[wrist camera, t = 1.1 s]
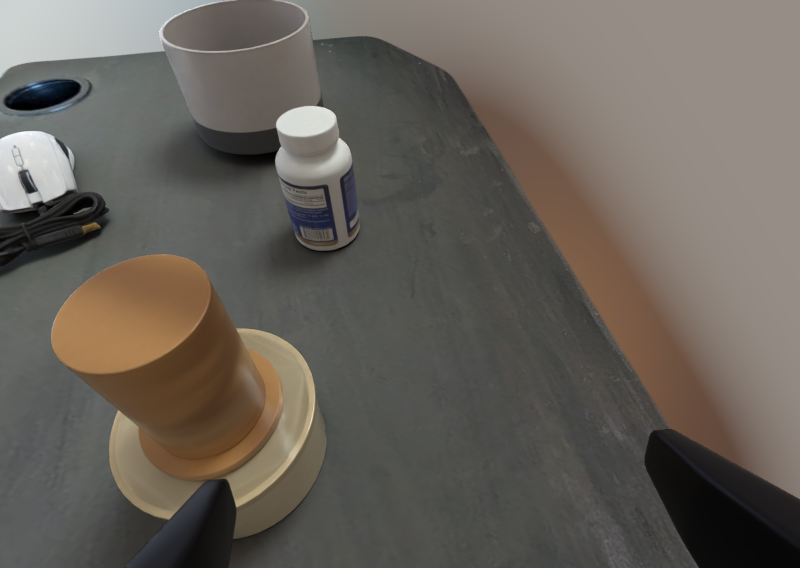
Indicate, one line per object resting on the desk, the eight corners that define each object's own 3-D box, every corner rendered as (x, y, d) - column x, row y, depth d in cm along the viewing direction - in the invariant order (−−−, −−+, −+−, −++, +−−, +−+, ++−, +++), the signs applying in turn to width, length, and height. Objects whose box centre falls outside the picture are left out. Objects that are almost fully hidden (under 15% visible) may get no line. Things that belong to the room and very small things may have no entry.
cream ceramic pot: (288, 569, 21) (260, 550, 17) (119, 514, 22) (60, 485, 19) (352, 392, 27) (342, 348, 23) (215, 359, 28) (184, 313, 24)
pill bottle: (336, 200, 38) (318, 92, 31) (373, 232, 36) (363, 121, 28) (282, 227, 36) (249, 118, 29) (317, 263, 34) (290, 152, 26)
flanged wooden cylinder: (244, 499, 18) (159, 419, 12) (113, 459, 19) (-25, 368, 13) (304, 366, 22) (263, 256, 16) (193, 340, 23) (115, 228, 17)
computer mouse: (84, 136, 46) (61, 100, 43) (121, 231, 36) (94, 193, 33) (-26, 168, 43) (-59, 131, 40) (-18, 284, 33) (-62, 246, 30)
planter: (213, 180, 41) (165, 64, 33) (195, 117, 49) (153, 11, 41) (342, 147, 44) (327, 34, 36) (307, 92, 52) (288, -10, 44)
